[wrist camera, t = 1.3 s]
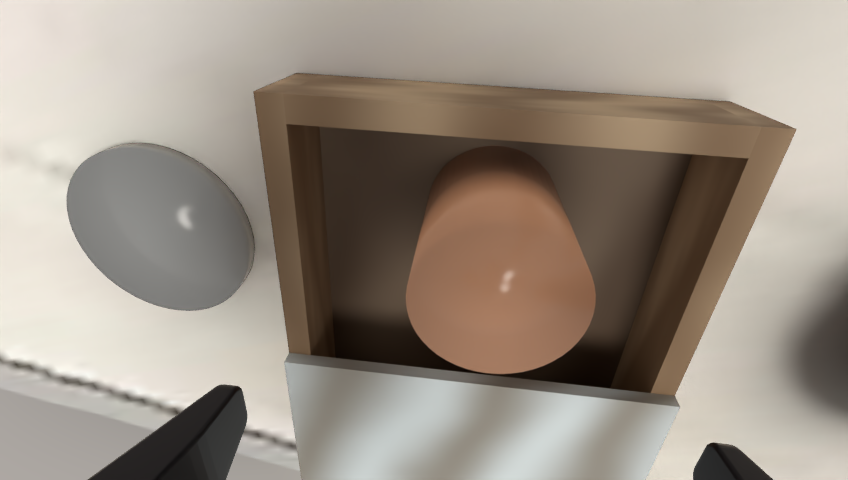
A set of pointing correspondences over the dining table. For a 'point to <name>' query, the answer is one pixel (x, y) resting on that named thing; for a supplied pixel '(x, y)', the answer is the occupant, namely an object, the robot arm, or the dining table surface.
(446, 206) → the tan cylinder
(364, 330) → the box
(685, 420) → the dining table surface
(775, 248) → the dining table surface
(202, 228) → the saucer
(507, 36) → the dining table surface
